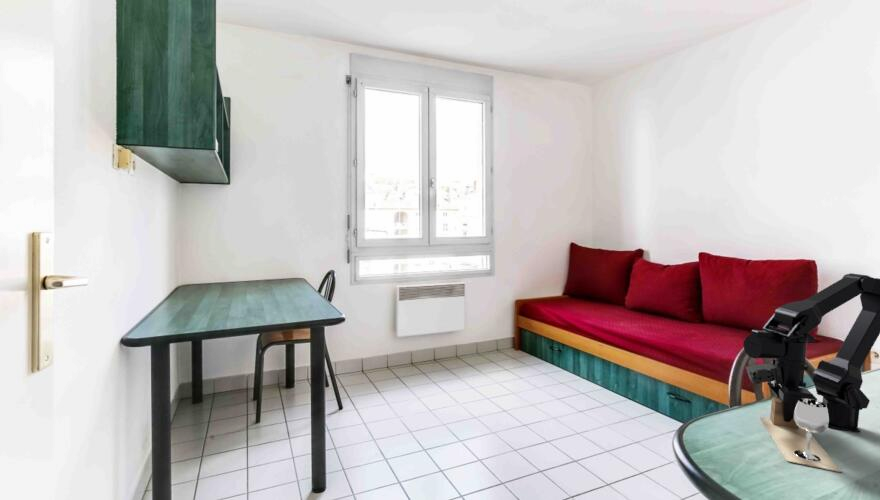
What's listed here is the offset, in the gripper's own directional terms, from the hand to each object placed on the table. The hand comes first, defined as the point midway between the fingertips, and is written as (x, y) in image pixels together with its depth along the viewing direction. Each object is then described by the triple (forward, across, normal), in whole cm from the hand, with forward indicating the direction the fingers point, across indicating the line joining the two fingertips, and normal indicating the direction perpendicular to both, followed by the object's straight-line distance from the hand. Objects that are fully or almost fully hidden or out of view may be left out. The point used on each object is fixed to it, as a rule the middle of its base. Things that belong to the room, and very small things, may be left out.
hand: (784, 418), depth 108 cm
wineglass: (+2, +16, 0) cm, 16 cm away
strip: (+2, +9, 0) cm, 9 cm away
